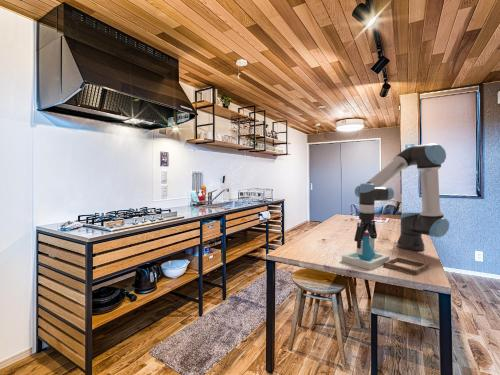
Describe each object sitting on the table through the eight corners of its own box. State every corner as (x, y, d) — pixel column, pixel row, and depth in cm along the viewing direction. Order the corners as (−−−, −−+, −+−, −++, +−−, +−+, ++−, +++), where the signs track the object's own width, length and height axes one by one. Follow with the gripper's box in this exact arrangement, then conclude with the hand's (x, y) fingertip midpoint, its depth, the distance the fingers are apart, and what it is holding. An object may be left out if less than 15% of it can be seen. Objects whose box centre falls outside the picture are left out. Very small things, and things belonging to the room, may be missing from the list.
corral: (397, 260, 144) (397, 256, 144) (428, 268, 132) (428, 264, 132) (383, 266, 135) (383, 262, 135) (415, 275, 123) (415, 270, 123)
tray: (361, 254, 155) (361, 249, 154) (389, 261, 142) (389, 255, 142) (341, 261, 143) (341, 255, 142) (370, 269, 130) (370, 263, 130)
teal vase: (369, 257, 147) (369, 230, 146) (378, 262, 138) (378, 234, 137) (353, 257, 147) (353, 231, 146) (361, 263, 137) (361, 234, 137)
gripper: (371, 209, 151) (370, 246, 152) (347, 213, 137) (346, 254, 138) (384, 210, 145) (383, 249, 146) (361, 215, 131) (360, 258, 132)
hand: (365, 252), depth 142 cm, fingers open, 11 cm apart
